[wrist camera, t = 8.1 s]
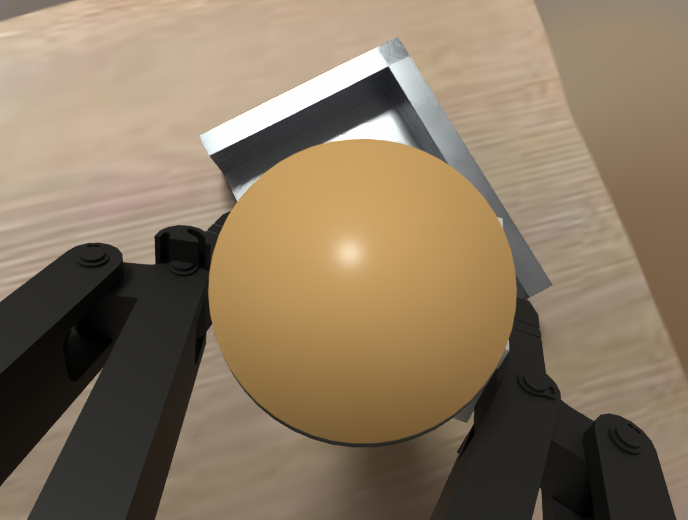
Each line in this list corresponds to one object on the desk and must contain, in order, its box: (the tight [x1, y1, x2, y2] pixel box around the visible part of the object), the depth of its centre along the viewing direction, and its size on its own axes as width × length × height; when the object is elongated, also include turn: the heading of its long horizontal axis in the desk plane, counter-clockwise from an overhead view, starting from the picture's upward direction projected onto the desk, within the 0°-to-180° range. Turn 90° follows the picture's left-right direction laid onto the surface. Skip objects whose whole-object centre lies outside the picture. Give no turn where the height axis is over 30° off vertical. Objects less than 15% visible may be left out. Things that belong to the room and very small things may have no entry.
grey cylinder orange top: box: [208, 139, 517, 447], centre depth 14 cm, size 6×6×12 cm
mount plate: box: [200, 37, 552, 300], centre depth 30 cm, size 18×14×4 cm
